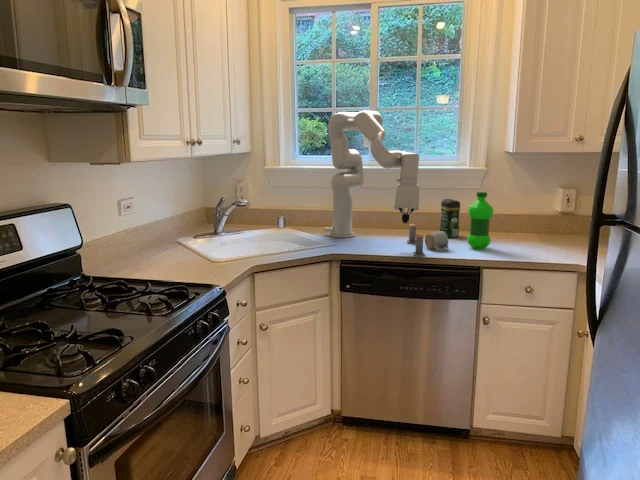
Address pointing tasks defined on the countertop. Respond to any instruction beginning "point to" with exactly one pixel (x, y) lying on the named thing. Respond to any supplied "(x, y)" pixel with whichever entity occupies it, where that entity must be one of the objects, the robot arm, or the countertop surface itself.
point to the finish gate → (416, 240)
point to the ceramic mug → (437, 241)
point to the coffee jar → (450, 217)
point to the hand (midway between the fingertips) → (405, 222)
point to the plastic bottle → (480, 222)
